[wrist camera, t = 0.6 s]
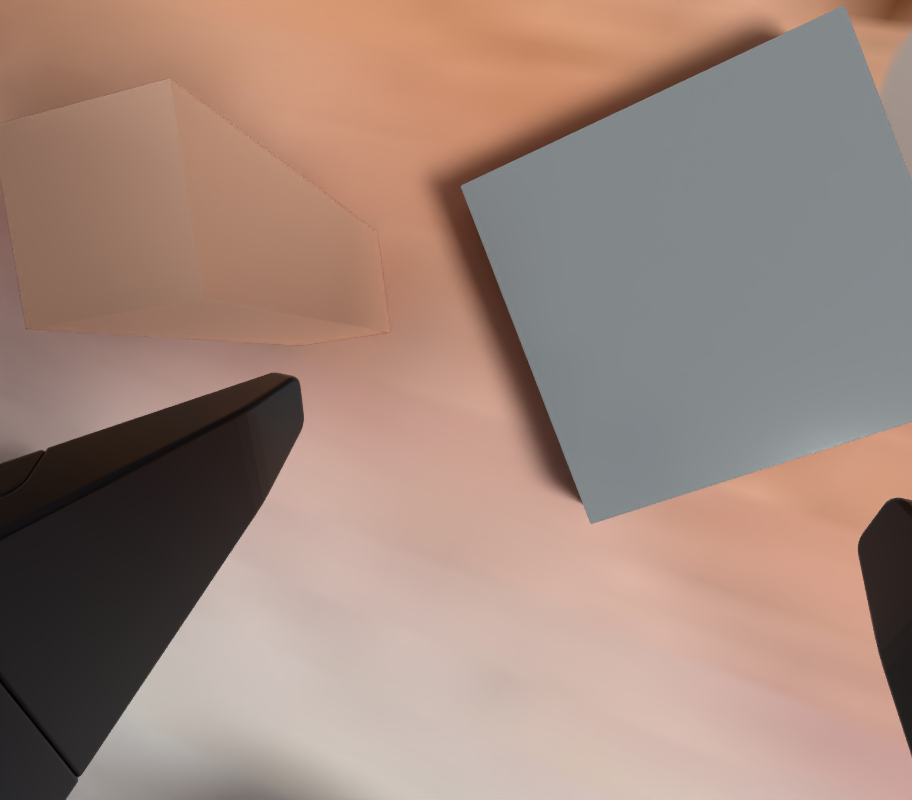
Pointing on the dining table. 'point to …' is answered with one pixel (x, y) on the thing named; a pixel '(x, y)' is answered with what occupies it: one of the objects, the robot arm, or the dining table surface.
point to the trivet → (713, 272)
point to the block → (178, 228)
